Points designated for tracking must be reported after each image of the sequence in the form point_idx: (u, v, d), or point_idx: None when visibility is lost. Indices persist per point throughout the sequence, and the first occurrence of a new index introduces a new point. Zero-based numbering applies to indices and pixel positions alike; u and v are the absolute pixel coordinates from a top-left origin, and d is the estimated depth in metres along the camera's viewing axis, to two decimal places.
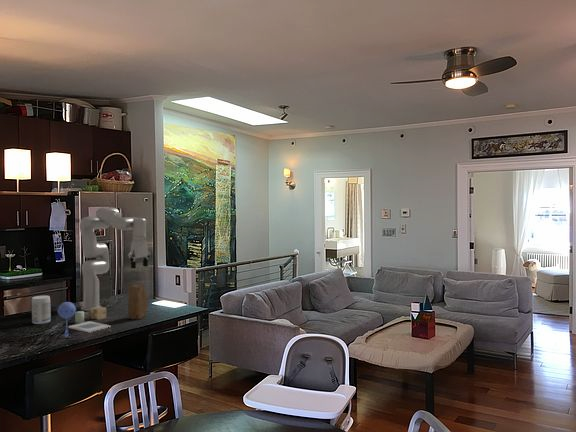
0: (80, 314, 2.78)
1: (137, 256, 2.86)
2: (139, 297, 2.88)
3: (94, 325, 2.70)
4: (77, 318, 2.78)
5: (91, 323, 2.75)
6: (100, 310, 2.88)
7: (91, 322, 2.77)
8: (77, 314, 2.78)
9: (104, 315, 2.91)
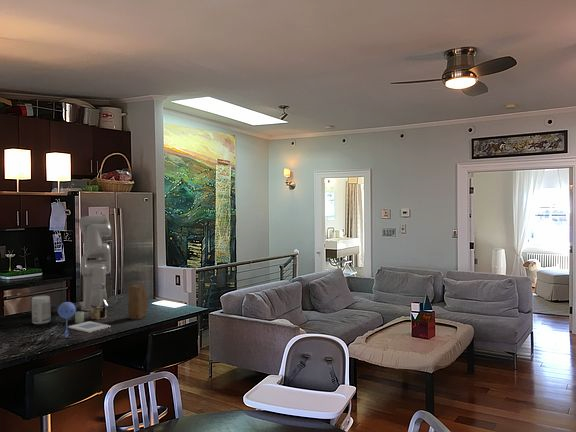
0: (80, 314, 2.78)
1: None
2: (139, 297, 2.88)
3: (94, 325, 2.70)
4: (77, 318, 2.78)
5: (91, 323, 2.75)
6: (100, 310, 2.88)
7: (91, 322, 2.77)
8: (77, 314, 2.78)
9: None
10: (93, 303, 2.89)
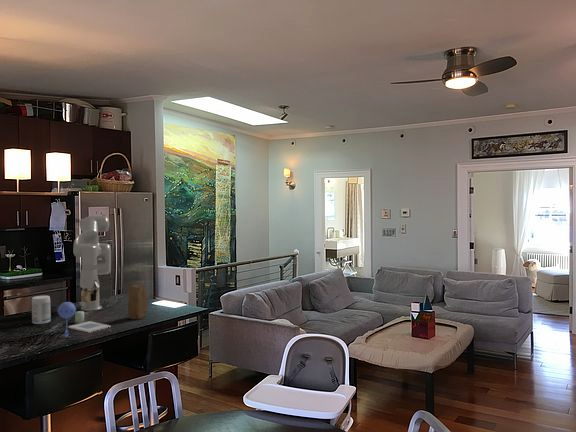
0: (80, 314, 2.78)
1: None
2: (139, 297, 2.88)
3: (94, 325, 2.70)
4: (77, 318, 2.78)
5: (91, 323, 2.75)
6: None
7: (91, 322, 2.77)
8: (77, 314, 2.78)
9: None
10: (83, 285, 2.67)
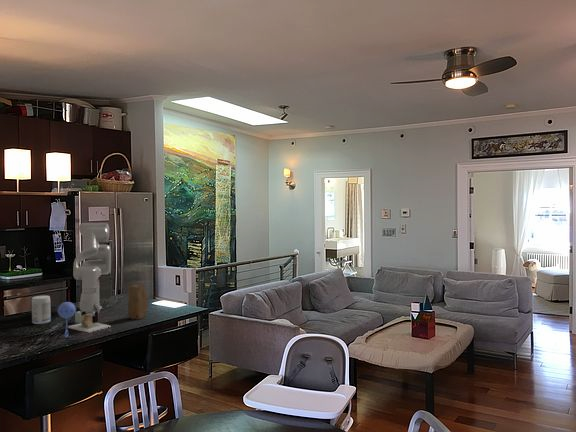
0: (80, 314, 2.78)
1: None
2: (139, 297, 2.88)
3: None
4: (77, 318, 2.78)
5: None
6: (91, 317, 2.67)
7: None
8: (77, 314, 2.78)
9: None
10: (83, 308, 2.67)
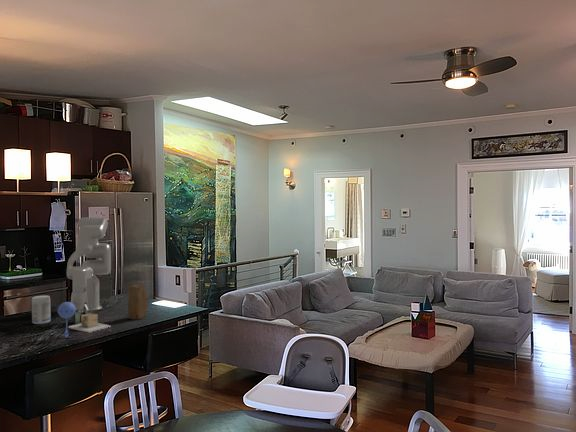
0: (80, 314, 2.78)
1: None
2: (139, 297, 2.88)
3: None
4: (77, 318, 2.78)
5: None
6: (91, 317, 2.67)
7: None
8: (77, 314, 2.78)
9: (95, 322, 2.69)
10: None
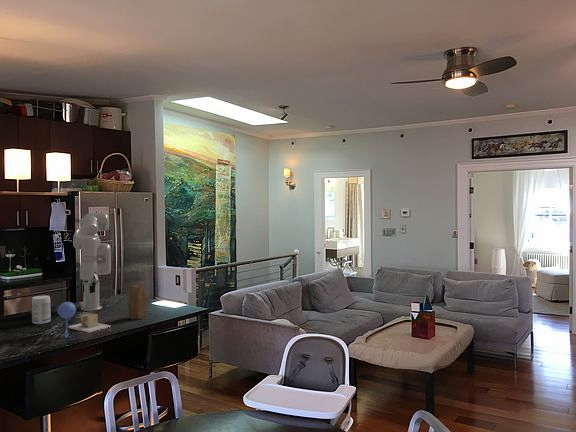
0: (89, 284, 2.67)
1: None
2: (139, 297, 2.88)
3: None
4: (86, 288, 2.67)
5: None
6: (91, 317, 2.67)
7: None
8: (86, 284, 2.66)
9: (95, 322, 2.69)
10: (83, 277, 2.67)
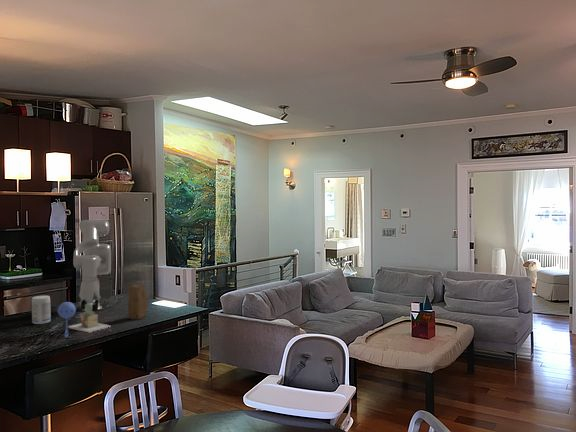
0: (90, 306, 2.67)
1: None
2: (139, 297, 2.88)
3: None
4: (87, 310, 2.67)
5: None
6: (91, 317, 2.67)
7: None
8: (87, 306, 2.67)
9: (95, 322, 2.69)
10: (83, 297, 2.67)
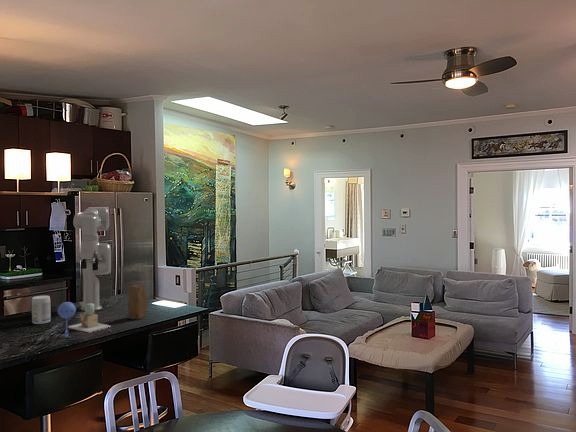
0: (90, 306, 2.67)
1: None
2: (139, 297, 2.88)
3: None
4: (87, 310, 2.67)
5: None
6: (91, 317, 2.67)
7: None
8: (87, 306, 2.67)
9: (95, 322, 2.69)
10: (83, 256, 2.66)
